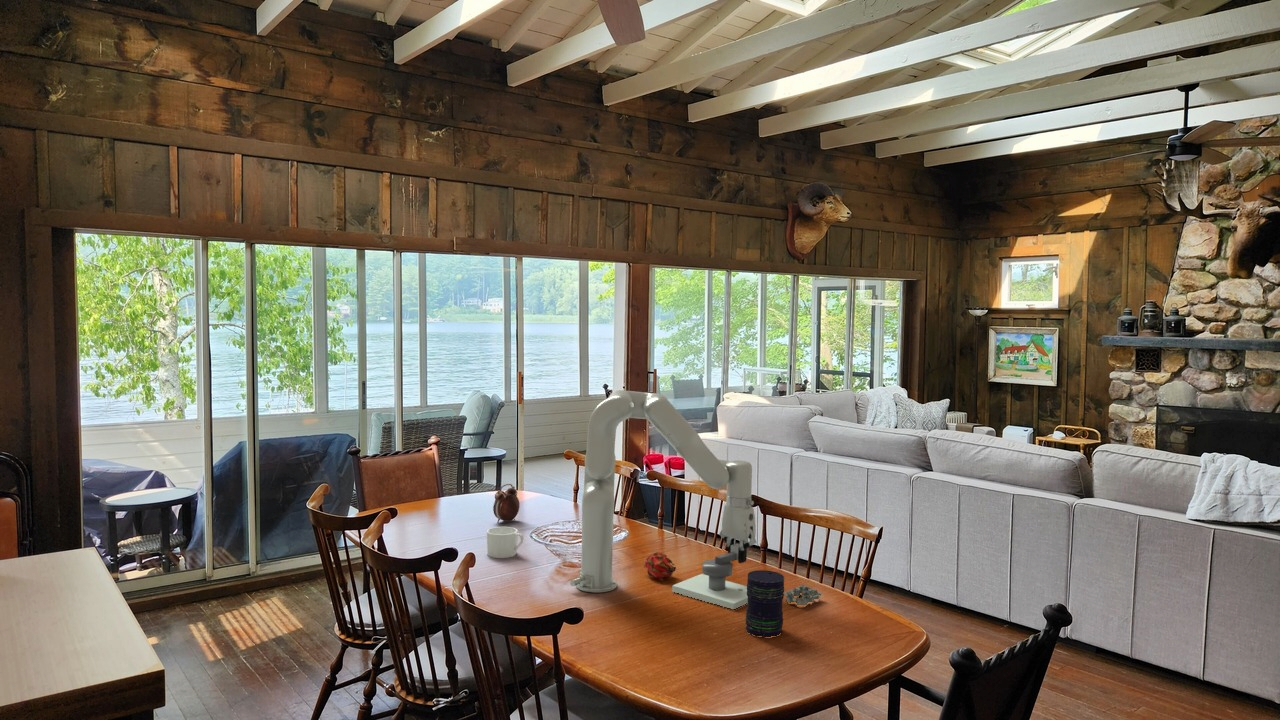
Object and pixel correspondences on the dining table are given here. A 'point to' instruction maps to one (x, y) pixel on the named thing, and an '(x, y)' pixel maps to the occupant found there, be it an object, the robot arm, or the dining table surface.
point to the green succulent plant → (807, 595)
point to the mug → (503, 542)
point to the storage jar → (764, 603)
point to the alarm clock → (506, 504)
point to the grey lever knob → (721, 563)
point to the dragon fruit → (659, 566)
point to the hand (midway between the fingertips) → (737, 560)
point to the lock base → (713, 590)
